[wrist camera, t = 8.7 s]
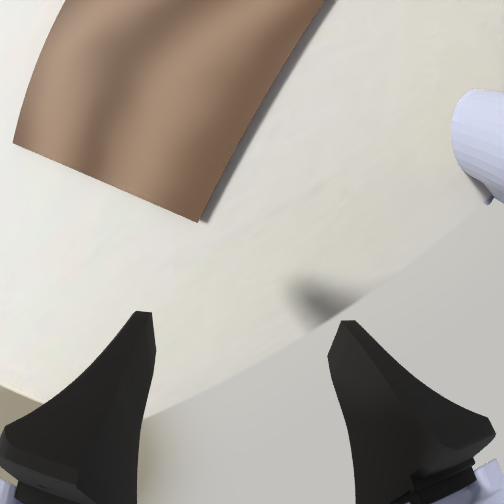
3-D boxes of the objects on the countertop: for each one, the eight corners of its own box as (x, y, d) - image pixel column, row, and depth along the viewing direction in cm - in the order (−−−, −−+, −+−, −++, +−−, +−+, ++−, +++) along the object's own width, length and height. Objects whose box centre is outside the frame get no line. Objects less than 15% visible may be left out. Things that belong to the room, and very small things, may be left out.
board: (340, -24, 12) (343, -27, 11) (198, 218, 19) (197, 222, 18) (138, -93, 8) (136, -97, 7) (17, 141, 15) (12, 142, 14)
